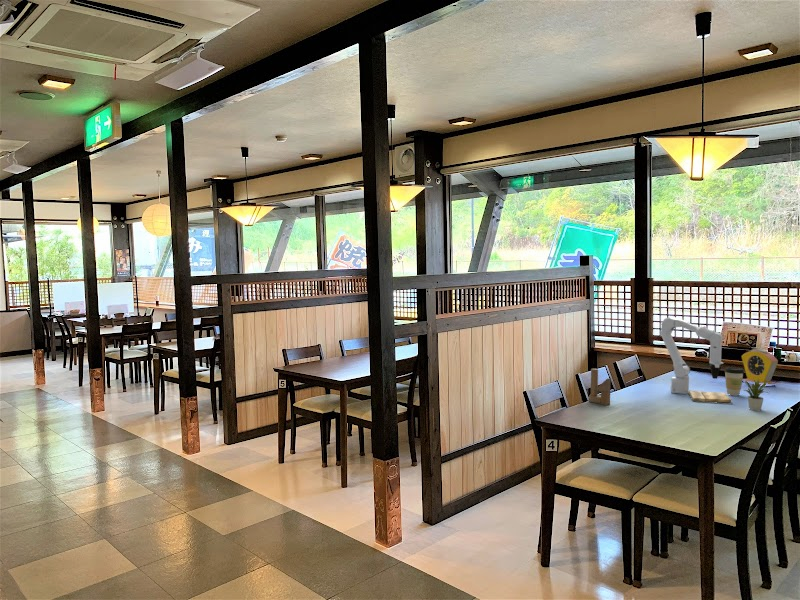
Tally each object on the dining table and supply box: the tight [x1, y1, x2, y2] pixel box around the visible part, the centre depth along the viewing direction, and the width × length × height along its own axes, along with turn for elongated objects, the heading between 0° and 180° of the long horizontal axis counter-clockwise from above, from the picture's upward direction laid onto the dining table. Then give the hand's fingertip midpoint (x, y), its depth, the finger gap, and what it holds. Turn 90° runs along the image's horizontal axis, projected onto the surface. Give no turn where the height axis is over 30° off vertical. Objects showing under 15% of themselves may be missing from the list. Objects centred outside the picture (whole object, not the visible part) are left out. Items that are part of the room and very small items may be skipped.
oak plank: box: [704, 395, 732, 402], centre depth 325 cm, size 12×9×1 cm
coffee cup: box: [723, 366, 745, 396], centre depth 340 cm, size 10×10×15 cm
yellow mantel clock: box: [741, 348, 779, 384], centre depth 369 cm, size 22×9×22 cm, turn 17°
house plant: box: [743, 378, 774, 411], centre depth 305 cm, size 14×14×16 cm
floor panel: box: [688, 390, 733, 405], centre depth 331 cm, size 19×20×2 cm
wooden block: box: [588, 368, 612, 406], centre depth 321 cm, size 4×11×18 cm, turn 39°
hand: (714, 378), depth 335 cm, fingers closed
